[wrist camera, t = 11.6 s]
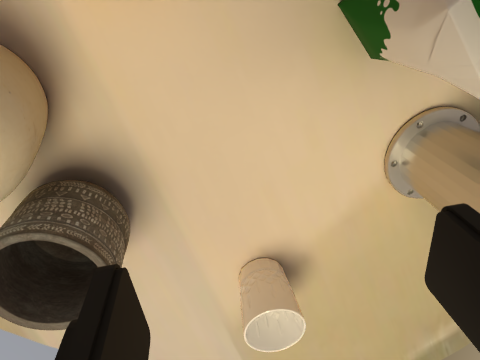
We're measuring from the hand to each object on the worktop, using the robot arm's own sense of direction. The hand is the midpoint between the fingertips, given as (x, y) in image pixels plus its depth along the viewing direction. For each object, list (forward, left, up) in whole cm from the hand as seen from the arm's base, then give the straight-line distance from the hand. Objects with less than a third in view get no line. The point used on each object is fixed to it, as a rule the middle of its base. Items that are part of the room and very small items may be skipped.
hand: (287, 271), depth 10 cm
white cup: (-2, +30, -31) cm, 43 cm away
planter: (+19, +14, -31) cm, 39 cm away
